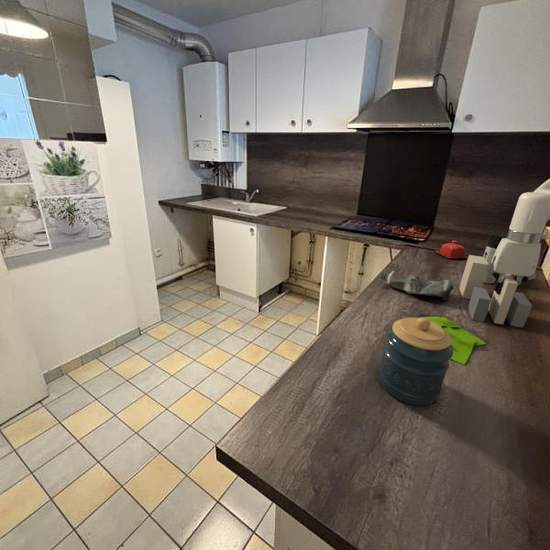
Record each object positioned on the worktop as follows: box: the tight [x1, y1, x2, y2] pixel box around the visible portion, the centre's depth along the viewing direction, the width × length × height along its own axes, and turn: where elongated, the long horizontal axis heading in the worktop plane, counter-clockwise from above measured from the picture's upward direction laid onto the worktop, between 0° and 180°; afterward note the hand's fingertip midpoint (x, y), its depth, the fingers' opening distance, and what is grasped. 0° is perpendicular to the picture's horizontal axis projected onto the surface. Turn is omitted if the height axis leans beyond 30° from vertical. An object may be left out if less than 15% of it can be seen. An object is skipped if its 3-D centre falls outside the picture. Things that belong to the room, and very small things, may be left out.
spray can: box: [482, 232, 507, 285], centre depth 119 cm, size 7×7×20 cm
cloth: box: [424, 316, 487, 366], centre depth 83 cm, size 20×22×2 cm
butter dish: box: [435, 239, 469, 260], centre depth 150 cm, size 12×12×8 cm
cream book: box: [487, 274, 519, 325], centre depth 92 cm, size 2×9×14 cm, turn 156°
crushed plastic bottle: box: [380, 270, 454, 301], centre depth 110 cm, size 13×7×25 cm
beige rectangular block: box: [458, 254, 489, 300], centre depth 108 cm, size 5×9×14 cm, turn 156°
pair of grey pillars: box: [467, 287, 533, 329], centre depth 93 cm, size 13×9×8 cm
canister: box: [378, 316, 453, 406], centre depth 63 cm, size 13×13×18 cm
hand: (503, 293), depth 91 cm, fingers closed on cream book, 2 cm apart
